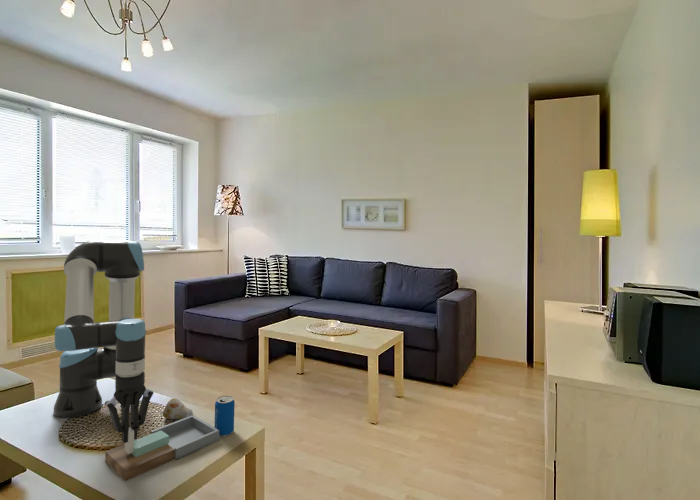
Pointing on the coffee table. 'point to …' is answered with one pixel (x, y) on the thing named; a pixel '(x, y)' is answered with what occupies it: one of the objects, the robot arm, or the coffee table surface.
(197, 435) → the tray
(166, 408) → the mug
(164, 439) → the tile far
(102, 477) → the coffee table surface
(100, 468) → the coffee table surface
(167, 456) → the walnut board
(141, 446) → the tile near
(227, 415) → the beverage can
